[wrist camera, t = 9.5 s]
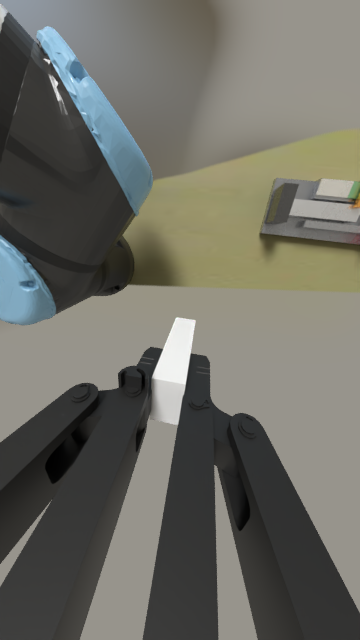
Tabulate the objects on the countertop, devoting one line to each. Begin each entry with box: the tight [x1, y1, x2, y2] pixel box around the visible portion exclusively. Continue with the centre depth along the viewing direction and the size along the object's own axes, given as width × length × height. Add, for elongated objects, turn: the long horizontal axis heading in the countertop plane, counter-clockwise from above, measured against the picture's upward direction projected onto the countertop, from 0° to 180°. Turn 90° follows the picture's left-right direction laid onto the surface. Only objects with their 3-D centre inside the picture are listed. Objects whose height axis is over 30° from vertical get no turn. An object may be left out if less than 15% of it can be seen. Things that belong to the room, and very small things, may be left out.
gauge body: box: [260, 178, 360, 245], centre depth 28 cm, size 20×8×4 cm, turn 84°
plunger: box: [266, 183, 360, 224], centre depth 27 cm, size 13×7×4 cm, turn 84°
